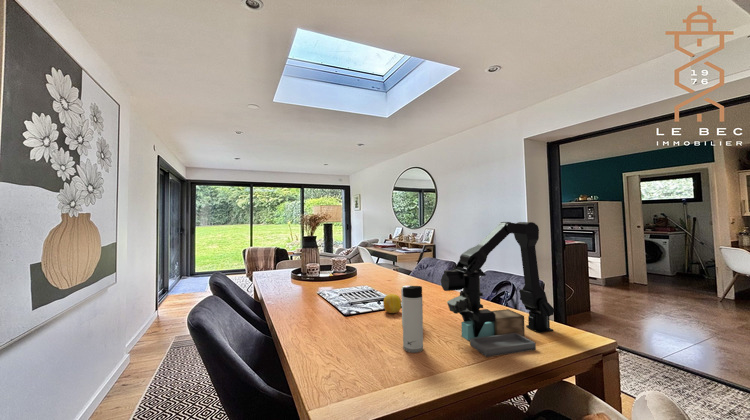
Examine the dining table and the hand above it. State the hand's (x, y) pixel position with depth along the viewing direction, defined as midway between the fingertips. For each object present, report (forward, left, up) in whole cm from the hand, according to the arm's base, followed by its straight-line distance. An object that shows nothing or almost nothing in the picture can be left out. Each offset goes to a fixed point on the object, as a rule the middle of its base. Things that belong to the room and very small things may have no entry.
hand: (472, 334), depth 104 cm
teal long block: (-3, 0, -1) cm, 3 cm away
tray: (-5, +10, -1) cm, 11 cm away
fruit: (+18, -34, -1) cm, 38 cm away
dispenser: (-13, 0, -1) cm, 13 cm away
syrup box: (+16, -18, -1) cm, 24 cm away
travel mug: (+23, +3, -1) cm, 23 cm away
